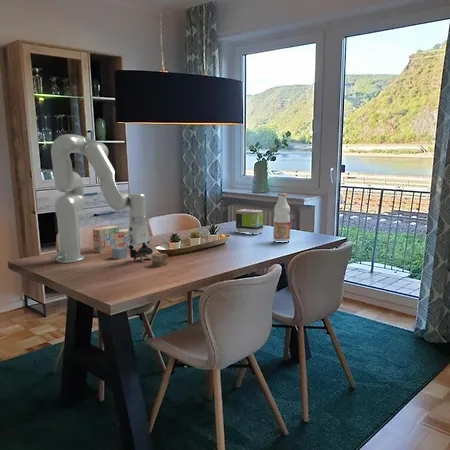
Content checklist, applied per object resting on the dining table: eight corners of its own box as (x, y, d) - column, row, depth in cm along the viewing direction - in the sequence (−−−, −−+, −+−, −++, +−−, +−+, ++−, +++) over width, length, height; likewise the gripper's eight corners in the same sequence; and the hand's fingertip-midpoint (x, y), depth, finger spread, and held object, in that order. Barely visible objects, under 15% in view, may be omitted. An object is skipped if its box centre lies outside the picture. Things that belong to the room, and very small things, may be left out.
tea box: (263, 232, 284) (263, 210, 281) (256, 235, 275) (256, 212, 273) (242, 230, 291) (242, 208, 289) (235, 233, 283) (235, 210, 280)
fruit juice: (270, 241, 259) (270, 193, 254) (283, 239, 263) (284, 192, 258) (279, 244, 250) (280, 194, 246) (292, 242, 255) (294, 194, 250)
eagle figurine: (137, 260, 208) (155, 255, 212) (132, 247, 209) (150, 242, 213) (134, 266, 214) (152, 260, 218) (129, 252, 216) (147, 247, 220)
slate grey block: (119, 259, 216) (119, 249, 215) (112, 258, 219) (111, 248, 218) (127, 257, 220) (126, 247, 220) (119, 256, 223) (119, 246, 222)
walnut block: (160, 267, 203) (160, 256, 202) (152, 265, 205) (151, 255, 204) (167, 264, 207) (167, 254, 206) (159, 263, 209) (159, 252, 209)
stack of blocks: (126, 244, 250) (125, 223, 248) (133, 246, 246) (132, 224, 244) (93, 251, 234) (92, 228, 232) (100, 253, 230) (99, 229, 228)
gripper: (130, 222, 200) (131, 260, 203) (156, 217, 215) (157, 253, 218) (118, 221, 204) (120, 258, 207) (144, 216, 219) (145, 251, 222)
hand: (139, 255), depth 212 cm, fingers closed on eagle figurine, 7 cm apart
